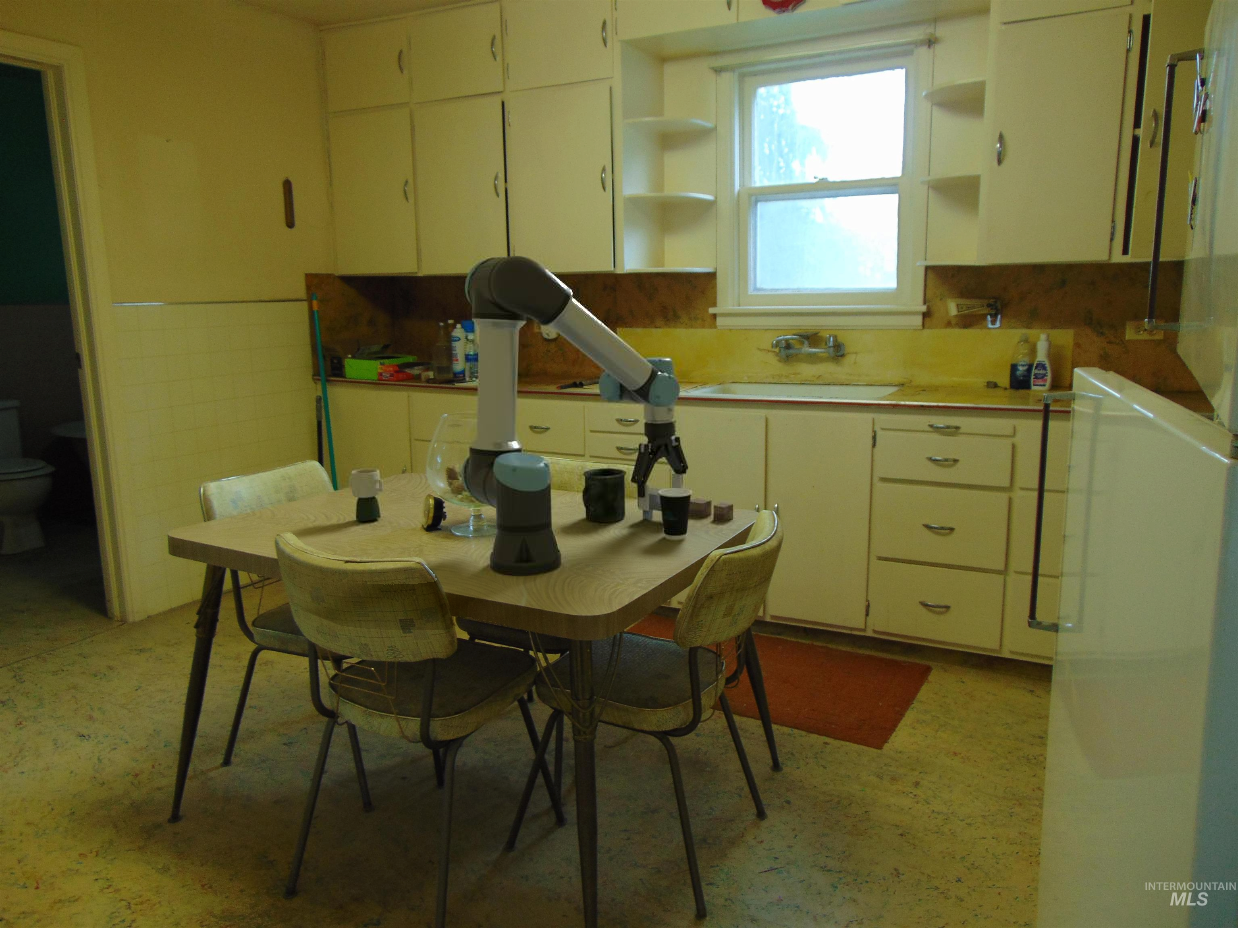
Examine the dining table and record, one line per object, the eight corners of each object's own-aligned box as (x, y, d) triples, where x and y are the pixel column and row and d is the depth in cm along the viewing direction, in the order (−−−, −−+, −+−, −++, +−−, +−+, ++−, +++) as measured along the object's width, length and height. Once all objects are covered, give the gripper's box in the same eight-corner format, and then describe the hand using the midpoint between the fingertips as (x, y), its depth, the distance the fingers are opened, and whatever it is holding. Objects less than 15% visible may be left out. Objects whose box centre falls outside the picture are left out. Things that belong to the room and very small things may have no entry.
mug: (635, 516, 232) (634, 470, 229) (603, 528, 220) (602, 480, 217) (600, 511, 237) (599, 466, 235) (567, 523, 225) (566, 476, 223)
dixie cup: (659, 541, 207) (658, 495, 205) (657, 532, 215) (657, 488, 213) (693, 541, 207) (693, 495, 205) (690, 532, 215) (690, 487, 213)
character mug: (394, 519, 233) (390, 470, 230) (375, 525, 226) (371, 475, 224) (361, 515, 237) (358, 467, 235) (342, 521, 231) (338, 472, 229)
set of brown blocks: (724, 521, 224) (724, 507, 224) (667, 511, 236) (667, 497, 235) (733, 518, 227) (733, 504, 227) (676, 508, 239) (676, 494, 238)
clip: (682, 522, 225) (682, 492, 223) (669, 526, 220) (669, 496, 219) (651, 516, 231) (651, 487, 230) (637, 520, 227) (637, 491, 225)
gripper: (639, 428, 209) (641, 516, 213) (701, 415, 228) (702, 496, 232) (614, 426, 214) (617, 512, 218) (677, 413, 233) (678, 492, 237)
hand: (661, 504), depth 225 cm, fingers open, 13 cm apart
